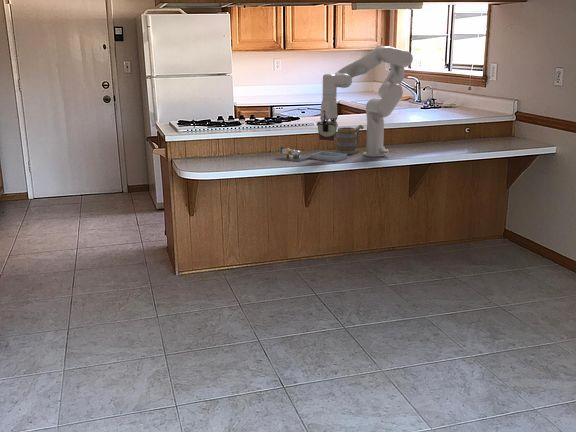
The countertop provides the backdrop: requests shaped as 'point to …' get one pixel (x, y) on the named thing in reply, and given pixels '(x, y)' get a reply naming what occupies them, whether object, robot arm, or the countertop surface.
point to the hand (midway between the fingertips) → (329, 130)
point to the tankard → (348, 140)
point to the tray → (329, 156)
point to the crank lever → (290, 152)
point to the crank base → (297, 159)
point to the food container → (331, 131)
